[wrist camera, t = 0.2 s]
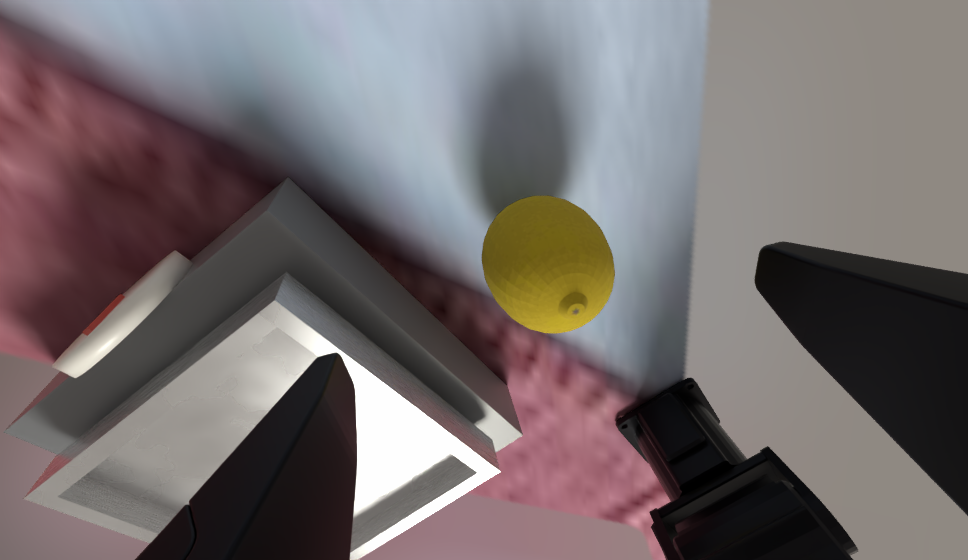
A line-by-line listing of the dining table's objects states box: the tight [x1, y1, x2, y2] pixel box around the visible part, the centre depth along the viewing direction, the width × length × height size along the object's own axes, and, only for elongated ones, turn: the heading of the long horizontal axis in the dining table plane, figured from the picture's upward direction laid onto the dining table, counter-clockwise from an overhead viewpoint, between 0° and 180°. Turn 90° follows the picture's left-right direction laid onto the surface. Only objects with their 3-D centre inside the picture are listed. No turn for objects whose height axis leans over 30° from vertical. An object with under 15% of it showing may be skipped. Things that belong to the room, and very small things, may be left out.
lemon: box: [482, 196, 615, 333], centre depth 20 cm, size 6×6×8 cm
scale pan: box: [23, 272, 500, 560], centre depth 21 cm, size 14×14×2 cm
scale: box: [4, 177, 523, 454], centre depth 23 cm, size 19×16×6 cm
